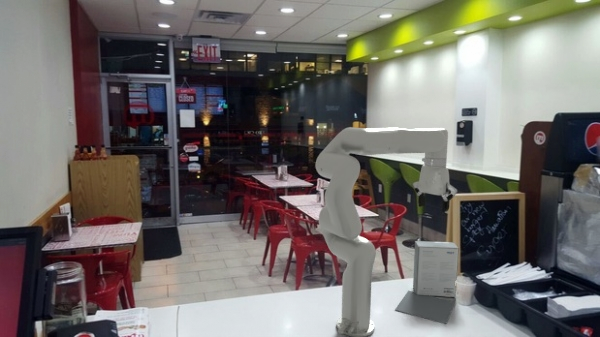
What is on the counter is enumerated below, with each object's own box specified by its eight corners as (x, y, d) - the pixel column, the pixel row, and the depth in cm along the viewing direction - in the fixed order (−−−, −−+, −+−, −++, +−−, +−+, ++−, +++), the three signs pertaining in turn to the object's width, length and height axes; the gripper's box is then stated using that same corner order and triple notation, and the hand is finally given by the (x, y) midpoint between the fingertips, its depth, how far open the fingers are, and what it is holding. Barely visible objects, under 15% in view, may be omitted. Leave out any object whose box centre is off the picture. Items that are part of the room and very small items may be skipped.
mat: (446, 324, 138) (446, 323, 138) (394, 310, 147) (394, 309, 147) (455, 302, 154) (455, 301, 154) (408, 291, 162) (408, 290, 162)
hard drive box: (450, 289, 164) (454, 242, 162) (456, 297, 157) (459, 248, 154) (412, 286, 166) (414, 240, 163) (415, 295, 158) (418, 246, 156)
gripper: (408, 161, 149) (407, 205, 152) (452, 166, 136) (449, 215, 139) (420, 159, 154) (418, 202, 157) (463, 164, 141) (460, 211, 144)
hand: (433, 208), depth 148 cm, fingers open, 9 cm apart
